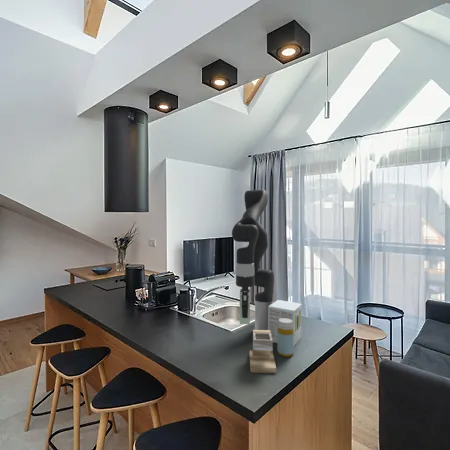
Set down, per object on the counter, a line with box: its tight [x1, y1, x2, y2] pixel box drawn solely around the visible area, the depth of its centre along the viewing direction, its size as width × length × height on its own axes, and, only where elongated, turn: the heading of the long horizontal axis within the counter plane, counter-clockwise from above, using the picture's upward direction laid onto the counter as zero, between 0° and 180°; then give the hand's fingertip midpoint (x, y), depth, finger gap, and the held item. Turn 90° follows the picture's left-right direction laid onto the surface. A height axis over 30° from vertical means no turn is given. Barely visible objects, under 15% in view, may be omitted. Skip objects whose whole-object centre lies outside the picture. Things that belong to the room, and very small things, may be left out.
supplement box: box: [268, 299, 303, 347], centre depth 142 cm, size 13×13×18 cm
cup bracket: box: [249, 329, 277, 374], centre depth 119 cm, size 14×10×12 cm
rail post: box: [239, 294, 251, 325], centre depth 116 cm, size 4×4×12 cm
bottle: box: [276, 318, 295, 358], centre depth 127 cm, size 7×7×15 cm
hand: (245, 315), depth 116 cm, fingers closed on rail post, 4 cm apart
